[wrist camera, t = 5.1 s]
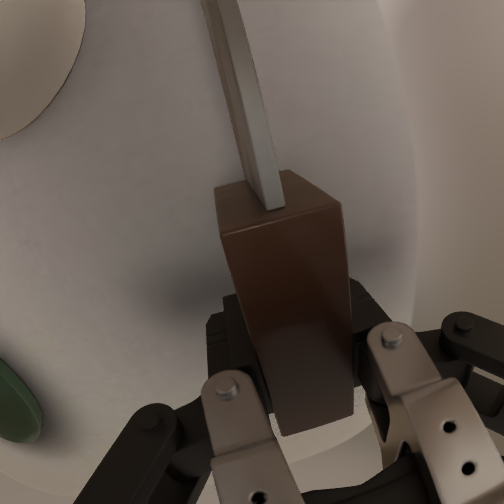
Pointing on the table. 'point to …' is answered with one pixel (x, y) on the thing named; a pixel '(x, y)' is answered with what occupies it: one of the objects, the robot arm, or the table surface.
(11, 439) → the cake stand
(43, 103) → the cup
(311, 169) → the table surface
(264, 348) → the knife
